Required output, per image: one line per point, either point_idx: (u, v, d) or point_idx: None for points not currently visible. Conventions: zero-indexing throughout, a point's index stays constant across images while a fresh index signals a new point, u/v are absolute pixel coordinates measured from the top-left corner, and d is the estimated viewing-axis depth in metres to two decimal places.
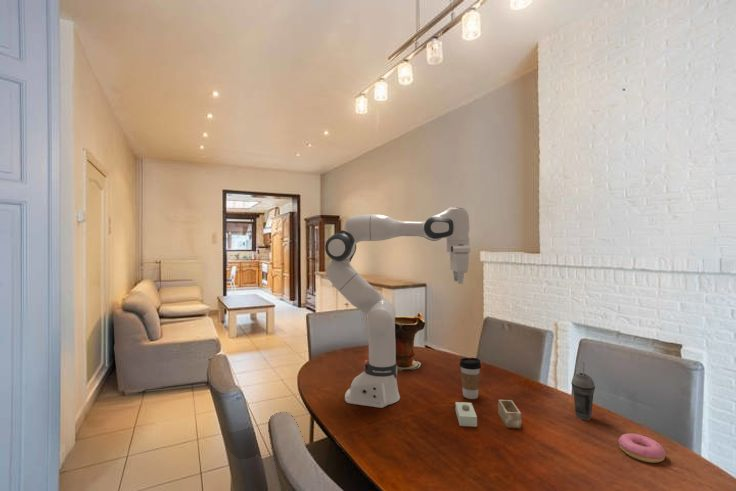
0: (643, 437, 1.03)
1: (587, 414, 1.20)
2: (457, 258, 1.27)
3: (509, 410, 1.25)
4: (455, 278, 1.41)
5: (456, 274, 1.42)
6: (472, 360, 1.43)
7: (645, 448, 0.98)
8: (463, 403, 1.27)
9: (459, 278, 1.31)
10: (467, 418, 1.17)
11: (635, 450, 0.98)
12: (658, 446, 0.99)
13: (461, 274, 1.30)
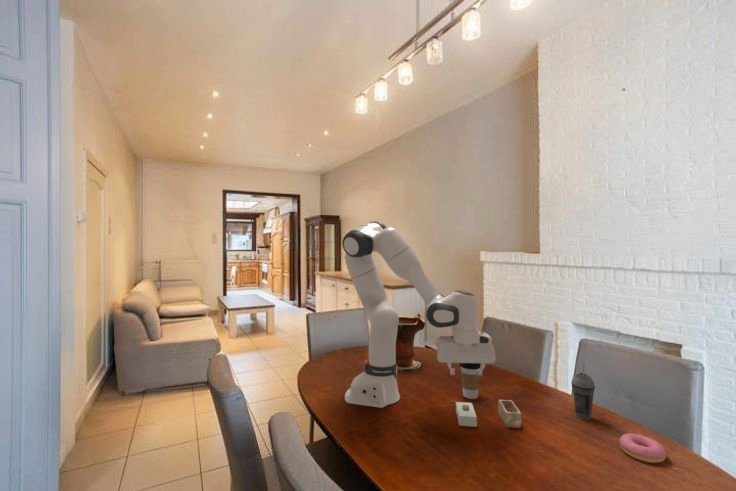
0: (644, 437, 1.03)
1: (587, 414, 1.20)
2: None
3: (509, 410, 1.25)
4: None
5: (450, 366, 1.24)
6: None
7: (646, 448, 0.98)
8: (463, 403, 1.27)
9: None
10: (466, 418, 1.17)
11: (635, 450, 0.98)
12: (659, 446, 0.98)
13: None
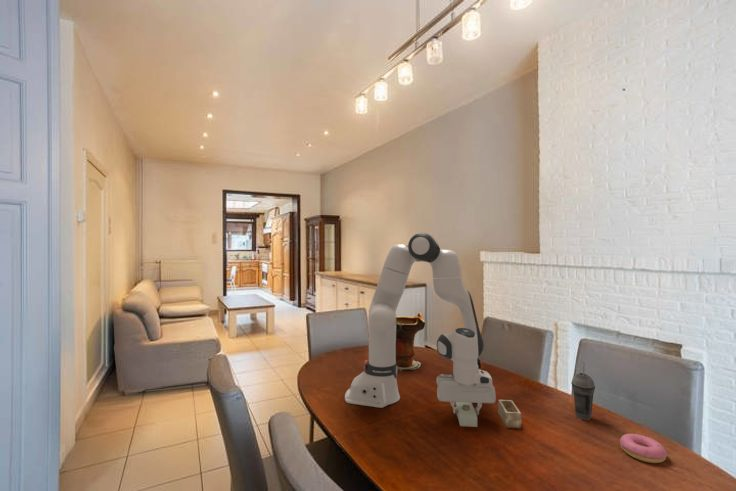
0: (644, 437, 1.03)
1: (587, 414, 1.20)
2: None
3: (509, 410, 1.25)
4: None
5: (453, 404, 1.23)
6: None
7: (646, 448, 0.97)
8: (463, 403, 1.27)
9: None
10: (467, 418, 1.17)
11: (636, 450, 0.98)
12: (659, 446, 0.98)
13: None
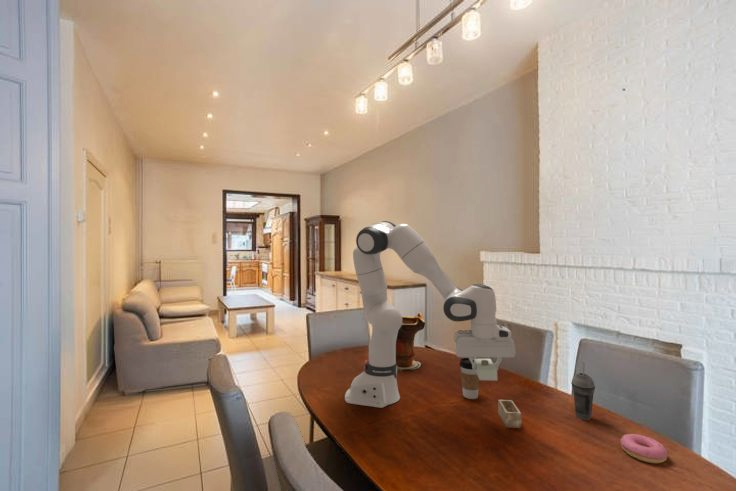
0: (645, 437, 1.03)
1: (587, 414, 1.20)
2: (513, 342, 1.18)
3: (509, 410, 1.25)
4: None
5: (472, 361, 1.22)
6: (472, 360, 1.43)
7: (647, 449, 0.97)
8: (482, 359, 1.25)
9: None
10: (486, 371, 1.16)
11: (637, 451, 0.98)
12: (660, 447, 0.98)
13: None
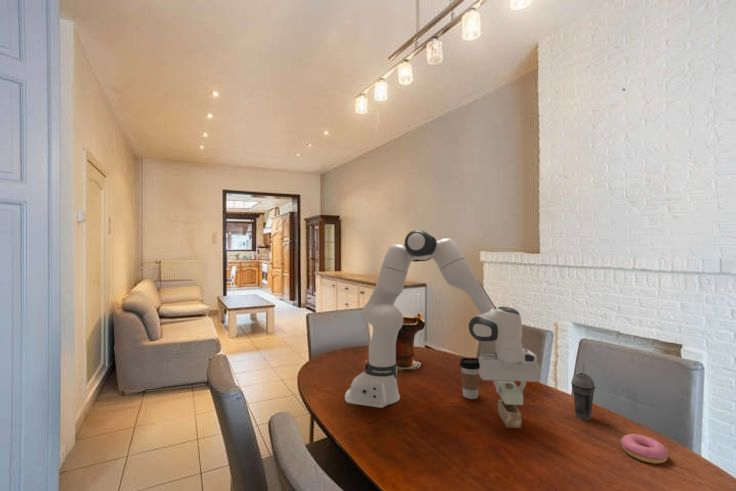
0: (646, 438, 1.03)
1: (587, 414, 1.20)
2: None
3: (509, 410, 1.25)
4: None
5: (496, 384, 1.22)
6: (472, 360, 1.43)
7: (648, 449, 0.97)
8: (505, 382, 1.26)
9: None
10: (512, 395, 1.16)
11: (637, 451, 0.98)
12: (661, 447, 0.98)
13: None
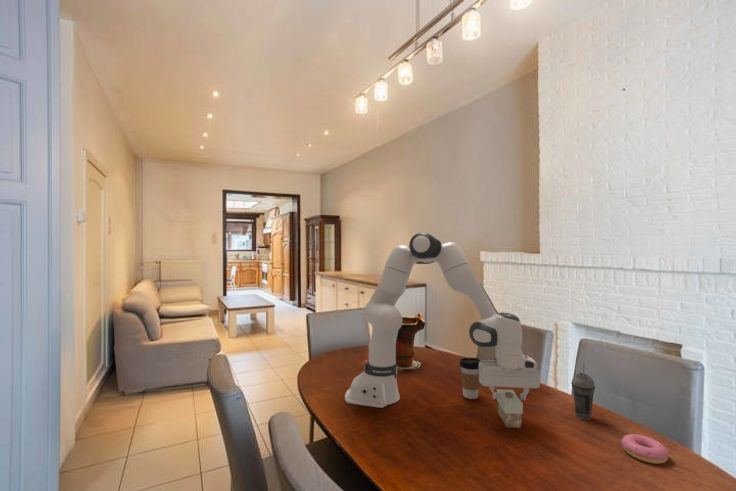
0: (646, 438, 1.03)
1: (587, 414, 1.20)
2: None
3: None
4: None
5: None
6: (472, 360, 1.43)
7: (648, 449, 0.97)
8: (505, 390, 1.25)
9: None
10: (512, 404, 1.16)
11: (638, 451, 0.98)
12: (661, 447, 0.98)
13: None
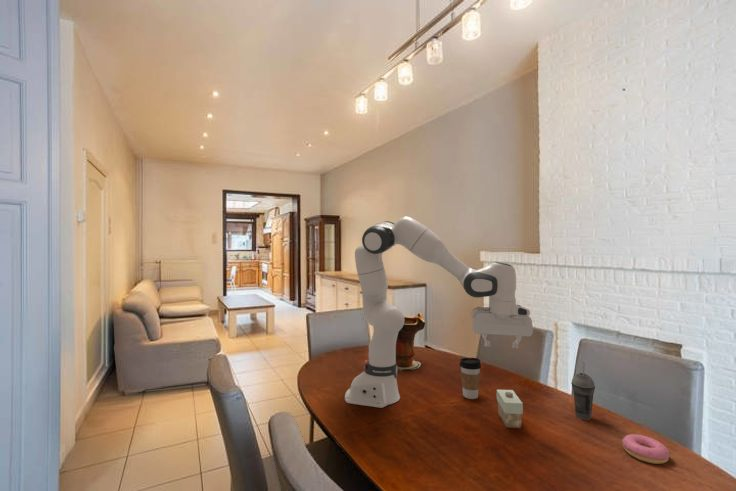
0: (647, 438, 1.03)
1: (587, 414, 1.20)
2: (531, 321, 1.18)
3: None
4: None
5: (485, 338, 1.22)
6: (472, 360, 1.43)
7: (649, 449, 0.97)
8: (505, 390, 1.25)
9: None
10: (512, 404, 1.16)
11: (638, 451, 0.98)
12: (662, 447, 0.98)
13: None
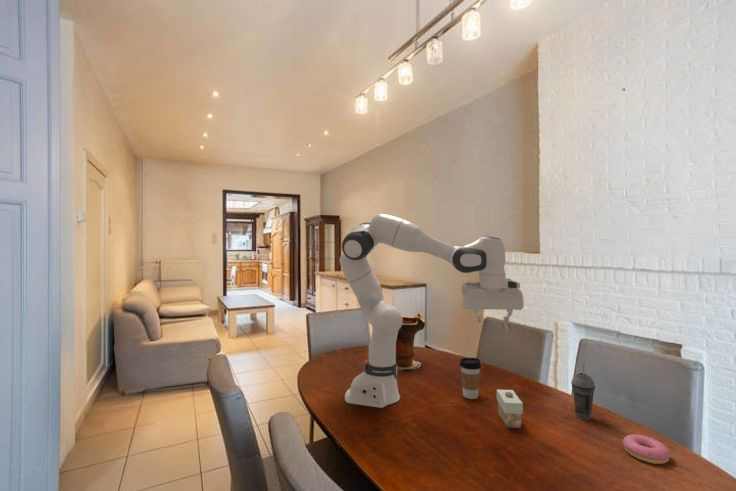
0: (647, 438, 1.03)
1: (587, 414, 1.20)
2: None
3: None
4: None
5: (476, 313, 1.21)
6: (472, 360, 1.43)
7: (650, 449, 0.97)
8: (505, 390, 1.25)
9: None
10: (512, 404, 1.16)
11: (639, 451, 0.98)
12: (663, 447, 0.98)
13: None
